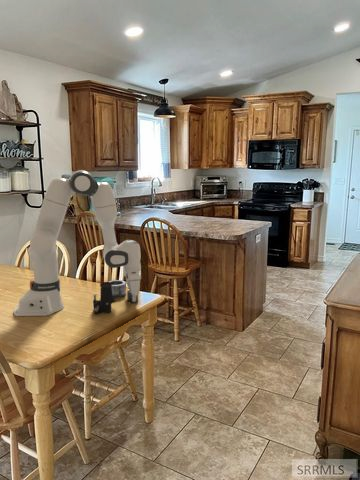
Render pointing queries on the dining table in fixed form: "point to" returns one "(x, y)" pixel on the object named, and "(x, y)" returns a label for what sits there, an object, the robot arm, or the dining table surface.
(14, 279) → the dining table surface
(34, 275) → the robot arm
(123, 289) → the grey short cylinder
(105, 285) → the scope
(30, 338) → the dining table surface
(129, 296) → the cap
